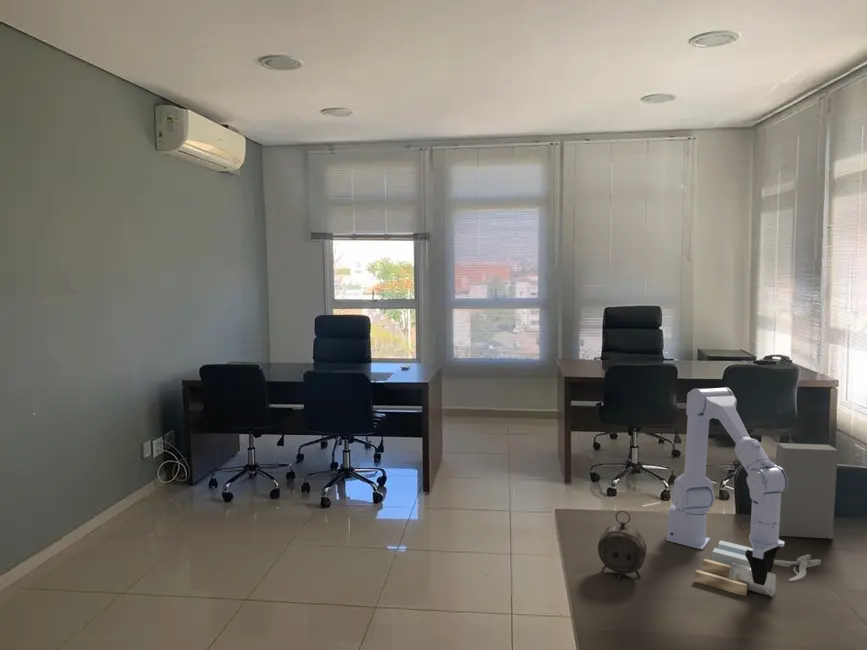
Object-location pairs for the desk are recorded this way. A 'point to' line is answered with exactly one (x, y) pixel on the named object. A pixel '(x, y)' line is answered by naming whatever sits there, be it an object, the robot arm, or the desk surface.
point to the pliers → (803, 562)
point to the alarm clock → (622, 548)
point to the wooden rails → (719, 577)
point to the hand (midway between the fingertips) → (762, 577)
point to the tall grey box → (807, 489)
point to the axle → (745, 576)
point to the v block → (730, 554)
